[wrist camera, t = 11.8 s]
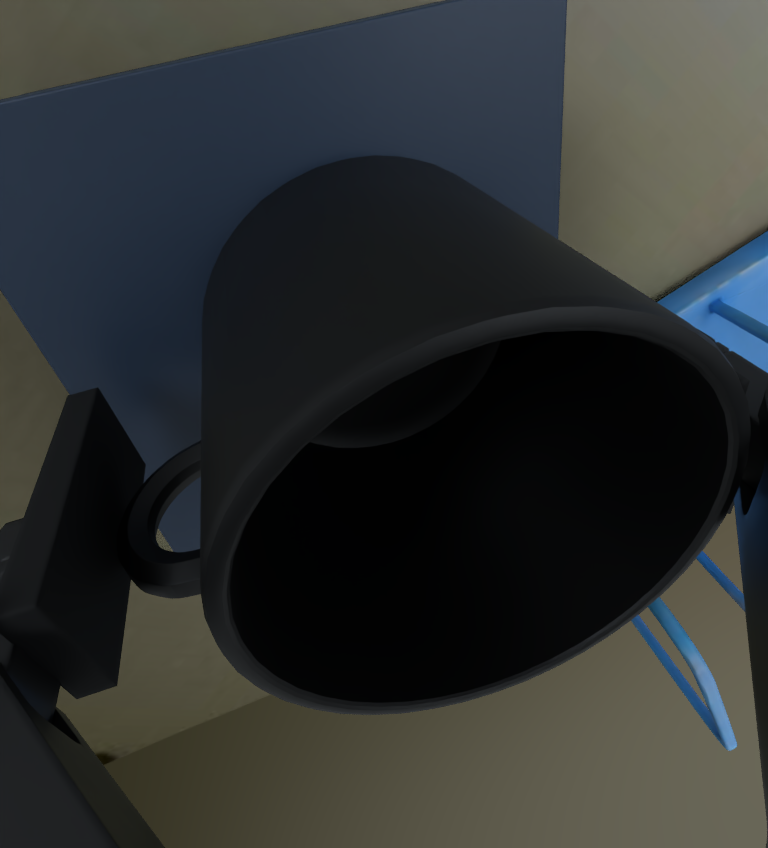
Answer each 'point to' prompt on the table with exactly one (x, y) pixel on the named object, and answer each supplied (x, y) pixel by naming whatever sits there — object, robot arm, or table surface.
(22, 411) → the table surface
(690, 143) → the table surface
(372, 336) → the mug
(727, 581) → the file sorter
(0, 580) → the robot arm
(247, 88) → the container
